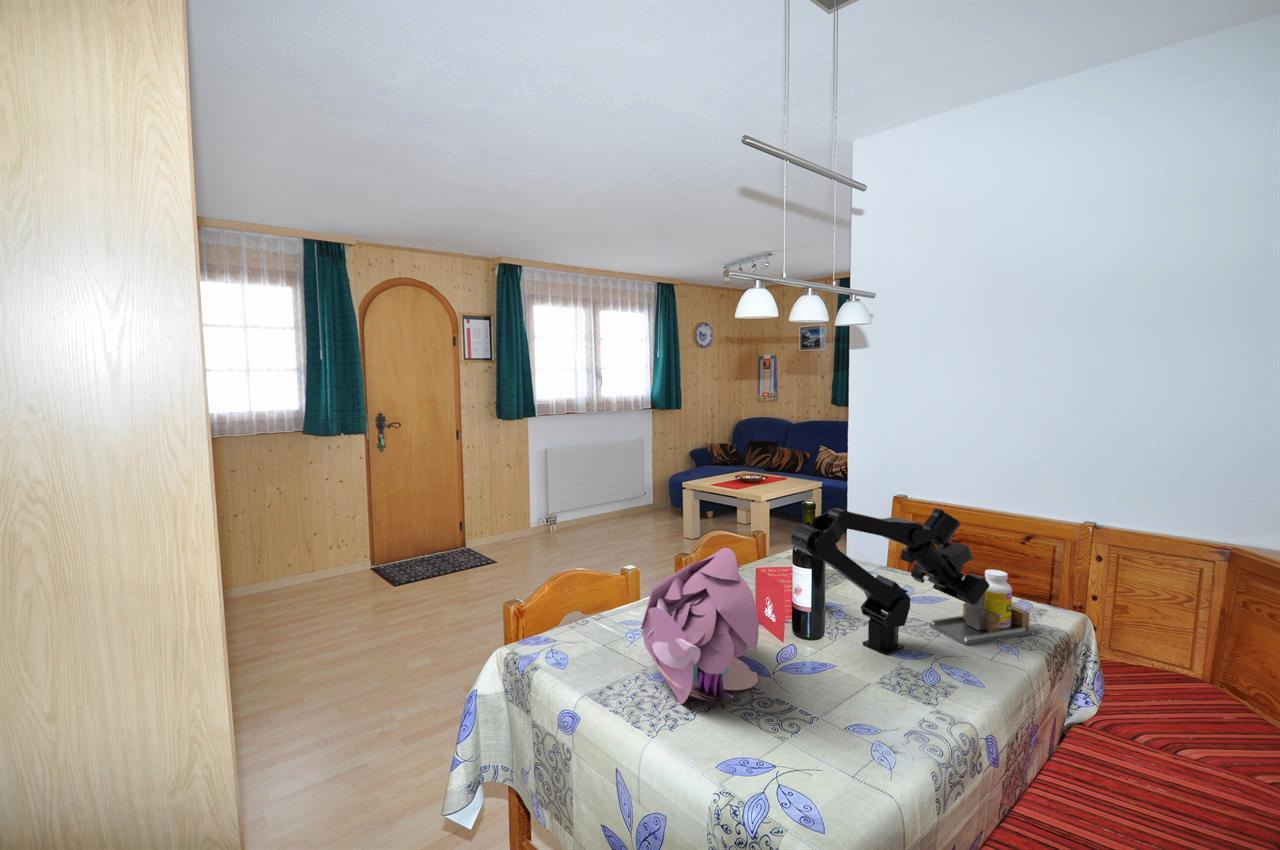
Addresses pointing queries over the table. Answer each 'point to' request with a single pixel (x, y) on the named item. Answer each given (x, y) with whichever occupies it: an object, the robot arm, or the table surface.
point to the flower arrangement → (703, 629)
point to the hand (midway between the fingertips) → (967, 600)
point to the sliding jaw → (980, 616)
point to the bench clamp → (971, 635)
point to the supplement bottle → (999, 596)
